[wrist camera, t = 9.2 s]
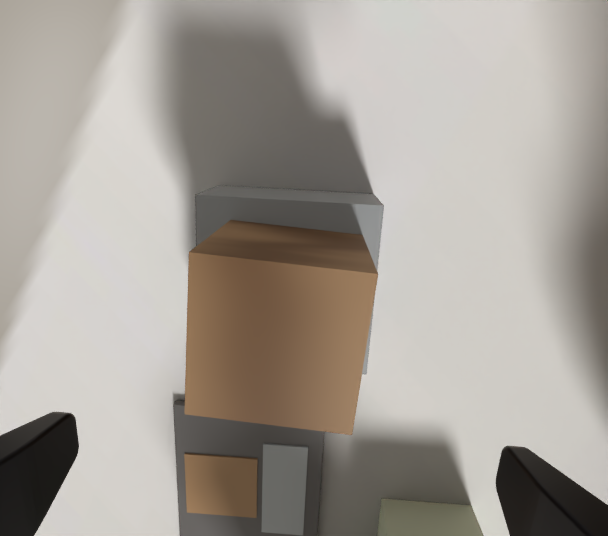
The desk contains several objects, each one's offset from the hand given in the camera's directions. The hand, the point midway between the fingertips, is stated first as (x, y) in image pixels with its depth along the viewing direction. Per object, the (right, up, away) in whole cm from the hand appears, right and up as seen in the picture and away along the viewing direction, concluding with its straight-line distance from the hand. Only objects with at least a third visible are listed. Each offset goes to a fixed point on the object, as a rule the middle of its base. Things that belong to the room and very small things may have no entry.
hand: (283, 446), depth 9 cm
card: (-3, -8, +15) cm, 17 cm away
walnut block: (0, +3, +8) cm, 8 cm away
